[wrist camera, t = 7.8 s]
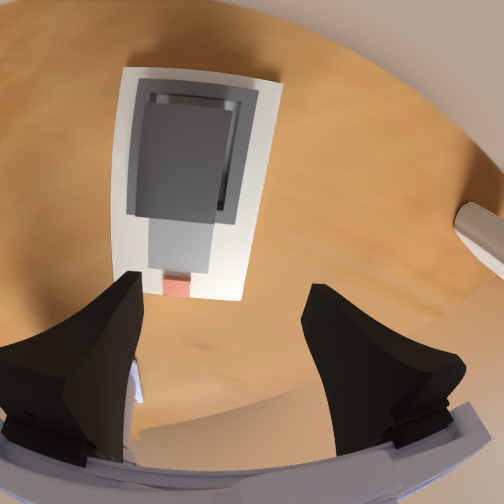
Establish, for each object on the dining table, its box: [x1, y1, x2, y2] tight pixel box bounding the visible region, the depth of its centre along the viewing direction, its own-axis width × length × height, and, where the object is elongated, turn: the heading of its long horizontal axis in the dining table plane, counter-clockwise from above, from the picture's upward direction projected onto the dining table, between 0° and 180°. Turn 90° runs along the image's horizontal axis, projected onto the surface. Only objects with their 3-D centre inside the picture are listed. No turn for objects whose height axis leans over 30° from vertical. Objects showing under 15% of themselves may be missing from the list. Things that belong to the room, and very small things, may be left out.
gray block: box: [135, 102, 233, 225], centre depth 14 cm, size 4×5×6 cm
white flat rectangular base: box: [111, 67, 284, 301], centre depth 17 cm, size 10×16×3 cm, turn 170°
